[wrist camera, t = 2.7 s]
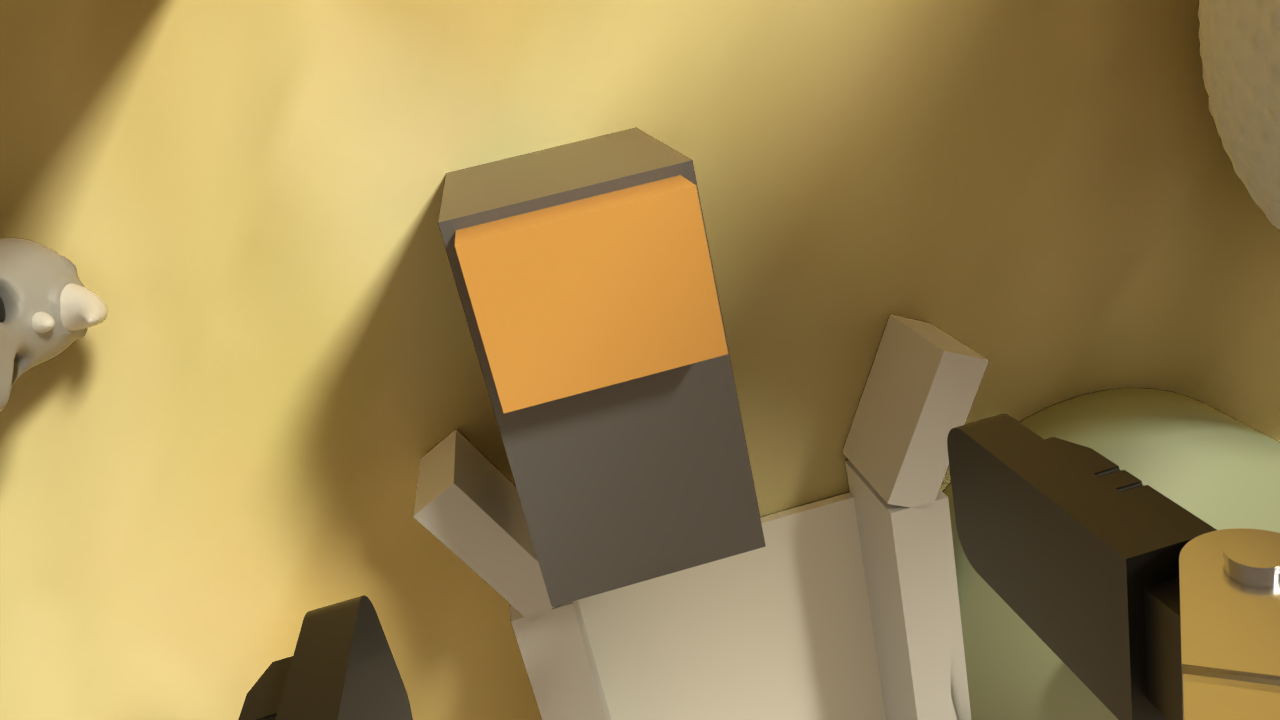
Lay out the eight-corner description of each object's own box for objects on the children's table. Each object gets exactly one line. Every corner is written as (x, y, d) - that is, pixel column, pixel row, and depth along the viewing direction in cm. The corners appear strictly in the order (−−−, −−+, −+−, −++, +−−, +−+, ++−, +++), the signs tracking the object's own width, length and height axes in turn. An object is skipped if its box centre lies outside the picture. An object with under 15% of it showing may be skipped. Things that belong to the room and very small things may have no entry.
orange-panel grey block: (446, 172, 21) (435, 237, 15) (635, 126, 22) (708, 169, 15) (533, 474, 24) (557, 644, 18) (699, 430, 25) (783, 578, 18)
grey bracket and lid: (413, 440, 23) (399, 542, 19) (1280, 211, 25) (1462, 251, 21) (568, 901, 29) (586, 1066, 25) (1262, 685, 31) (1400, 800, 27)
